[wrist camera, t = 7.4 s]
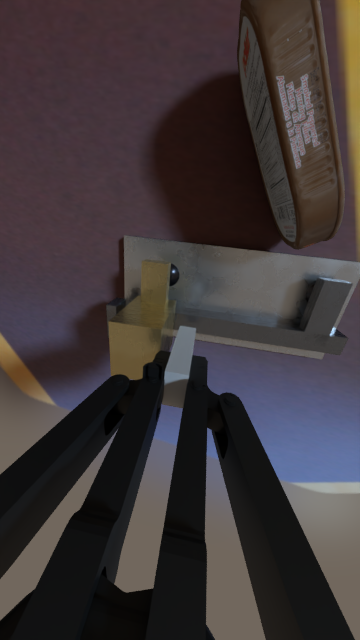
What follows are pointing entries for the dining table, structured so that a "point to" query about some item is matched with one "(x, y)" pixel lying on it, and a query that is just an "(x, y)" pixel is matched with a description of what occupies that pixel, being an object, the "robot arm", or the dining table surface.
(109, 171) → the dining table surface
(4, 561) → the robot arm
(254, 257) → the bolt plate
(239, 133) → the dining table surface
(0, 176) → the dining table surface
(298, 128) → the tin
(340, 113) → the dining table surface
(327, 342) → the grey slide rail base
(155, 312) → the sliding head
